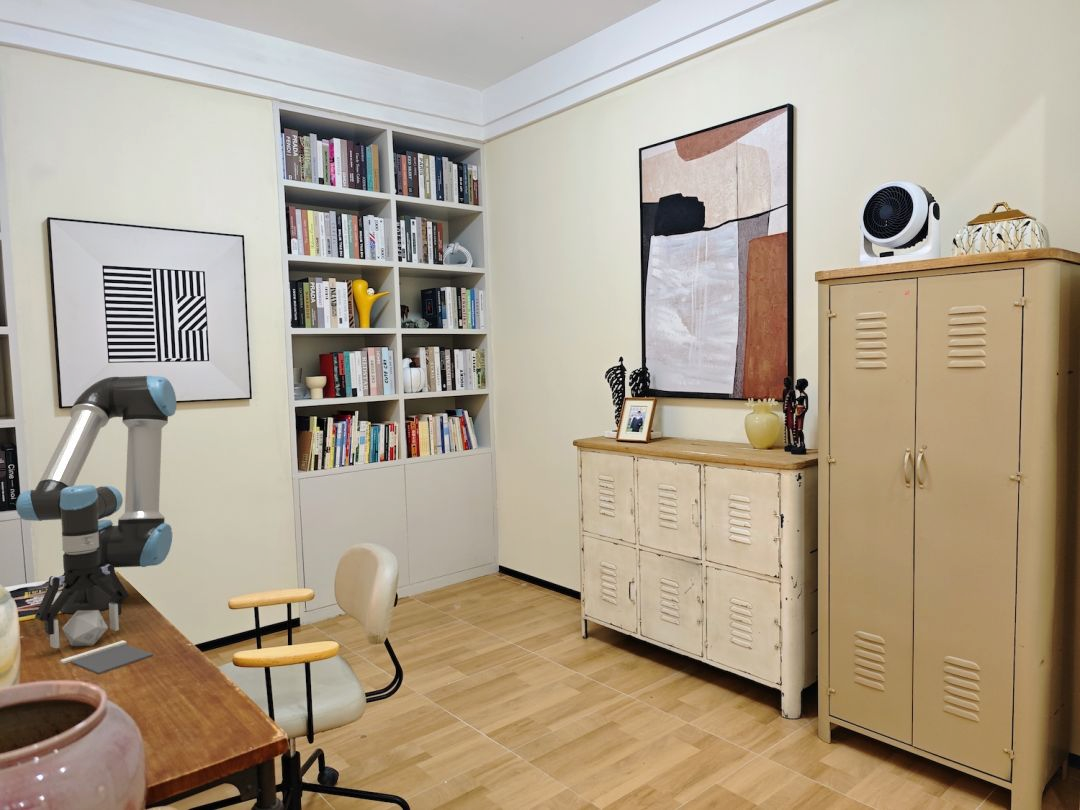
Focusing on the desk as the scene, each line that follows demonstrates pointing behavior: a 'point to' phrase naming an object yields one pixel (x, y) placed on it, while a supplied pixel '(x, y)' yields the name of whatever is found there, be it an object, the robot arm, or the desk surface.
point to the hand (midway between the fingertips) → (85, 638)
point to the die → (85, 628)
